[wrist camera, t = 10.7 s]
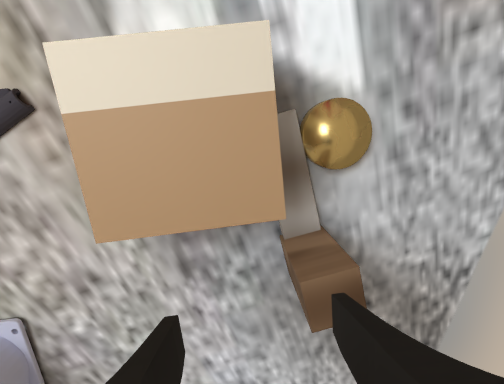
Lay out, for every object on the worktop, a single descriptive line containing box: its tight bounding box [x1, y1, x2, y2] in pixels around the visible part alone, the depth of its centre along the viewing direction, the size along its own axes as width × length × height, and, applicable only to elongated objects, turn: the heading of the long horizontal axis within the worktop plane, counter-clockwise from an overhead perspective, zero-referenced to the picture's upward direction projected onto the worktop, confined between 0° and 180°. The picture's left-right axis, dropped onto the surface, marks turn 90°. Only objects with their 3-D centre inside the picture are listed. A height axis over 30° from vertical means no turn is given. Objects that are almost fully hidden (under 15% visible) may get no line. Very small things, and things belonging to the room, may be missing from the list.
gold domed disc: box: [300, 98, 372, 169], centre depth 20 cm, size 5×5×2 cm
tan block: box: [42, 20, 286, 244], centre depth 16 cm, size 10×10×7 cm
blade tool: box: [277, 109, 367, 333], centre depth 18 cm, size 13×4×7 cm, turn 15°
